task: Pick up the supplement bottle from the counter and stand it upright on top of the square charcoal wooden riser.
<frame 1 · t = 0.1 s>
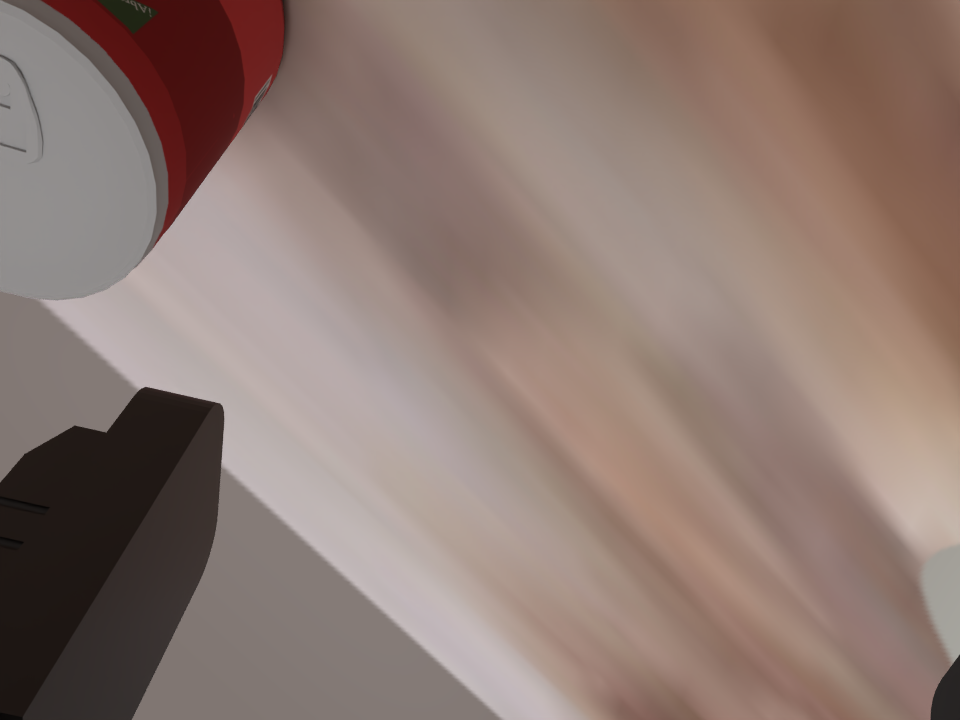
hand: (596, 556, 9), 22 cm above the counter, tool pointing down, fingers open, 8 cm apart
canned food: (178, 0, 29), on the counter
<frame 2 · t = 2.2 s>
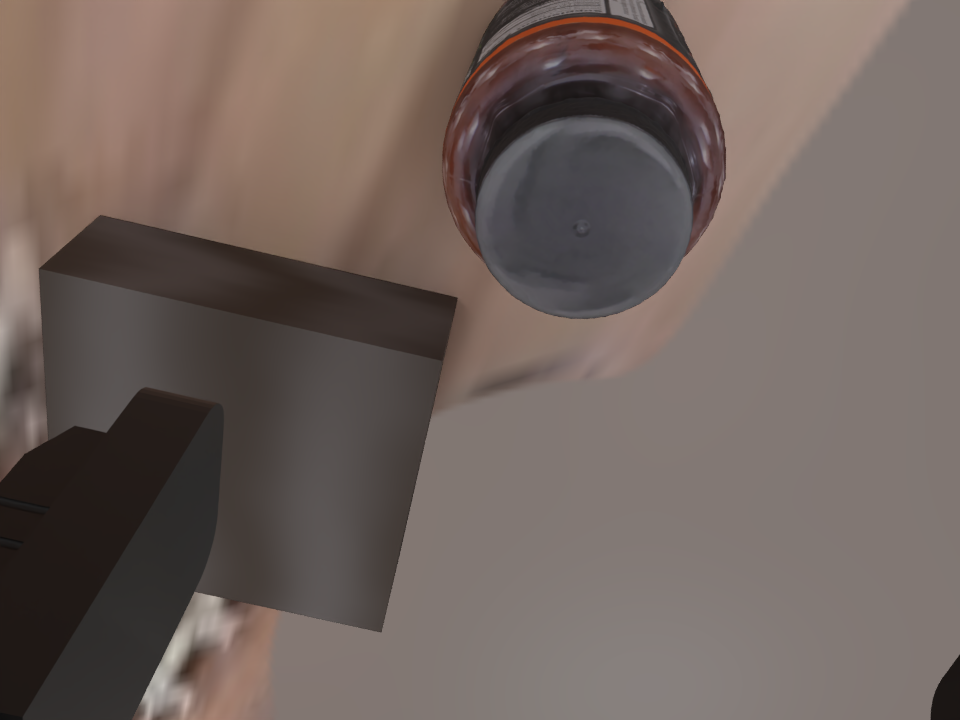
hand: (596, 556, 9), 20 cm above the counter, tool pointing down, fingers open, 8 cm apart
supplement bottle: (580, 71, 26), on the counter
riser: (264, 402, 33), on the counter
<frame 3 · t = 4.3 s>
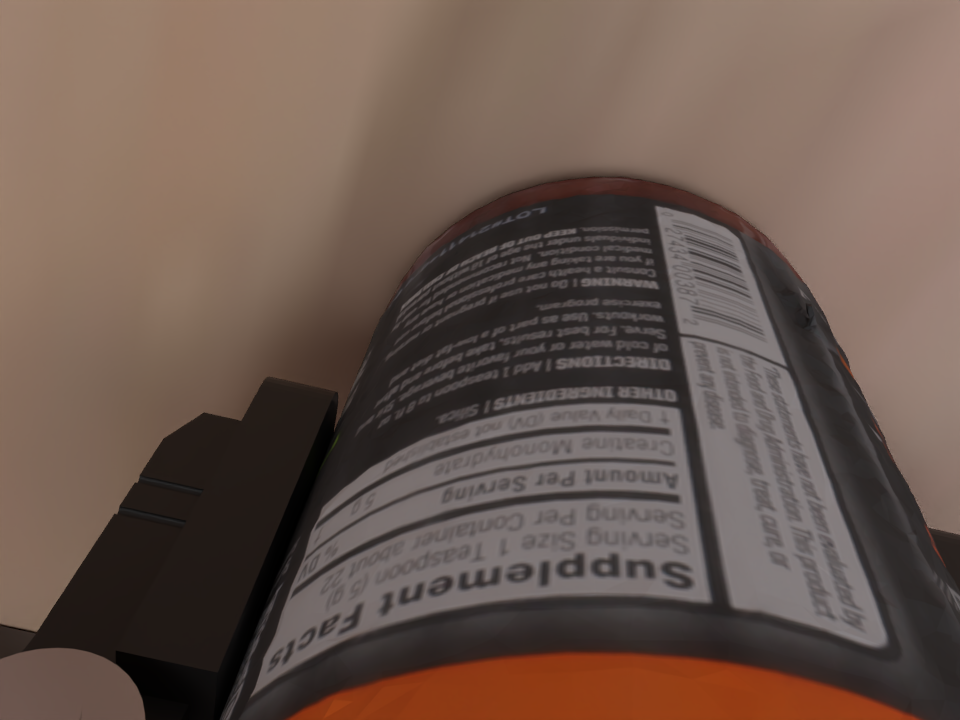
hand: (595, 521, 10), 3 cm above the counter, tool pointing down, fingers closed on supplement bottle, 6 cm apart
supplement bottle: (595, 361, 13), on the counter, touching gripper
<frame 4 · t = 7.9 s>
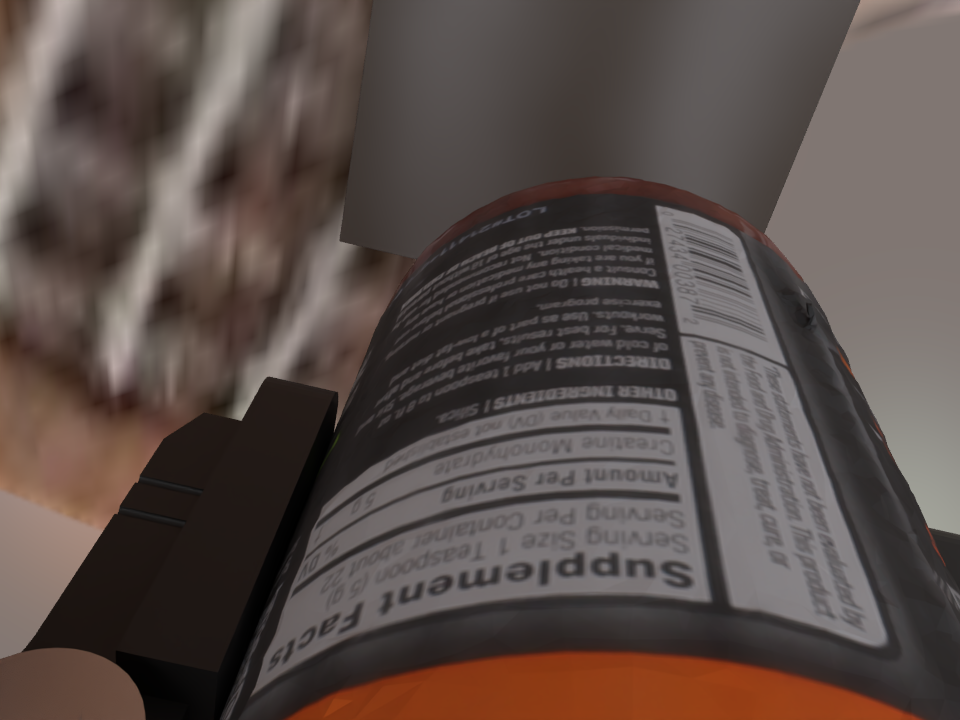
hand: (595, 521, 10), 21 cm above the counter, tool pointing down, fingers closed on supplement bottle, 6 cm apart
supplement bottle: (595, 360, 13), point 18 cm above the counter, touching gripper
riser: (585, 57, 28), on the counter
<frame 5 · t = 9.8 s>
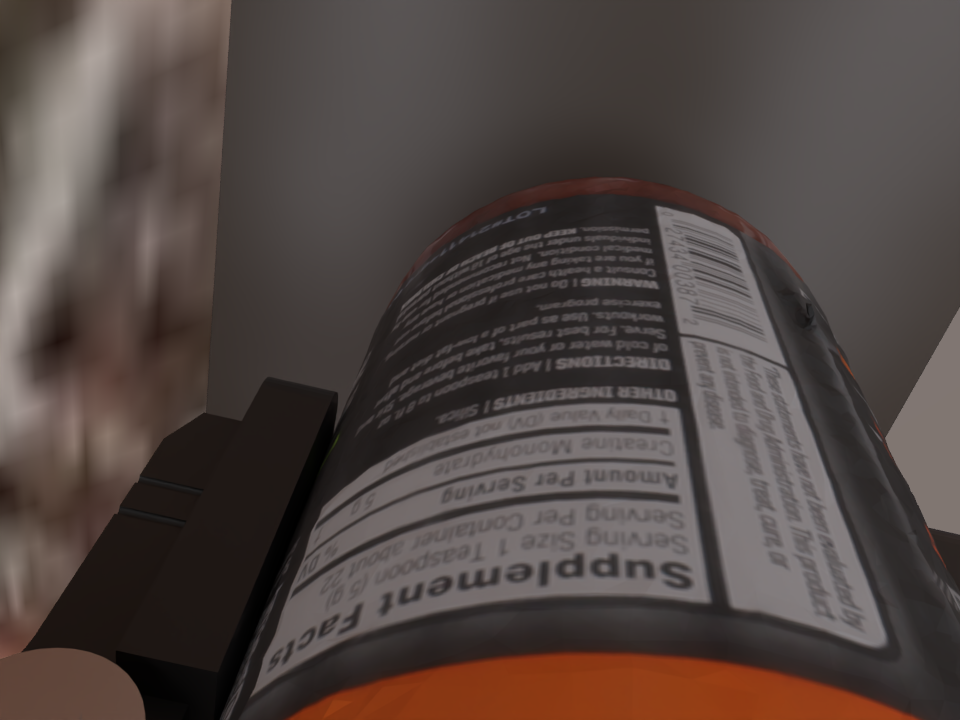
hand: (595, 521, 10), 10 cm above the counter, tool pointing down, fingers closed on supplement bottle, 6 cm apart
supplement bottle: (595, 361, 13), point 7 cm above the counter, touching gripper
riser: (579, 189, 18), on the counter
when the fingers open (8 cm above the counter, at t = 11.2 s): supplement bottle drops 1 cm, resting on riser.
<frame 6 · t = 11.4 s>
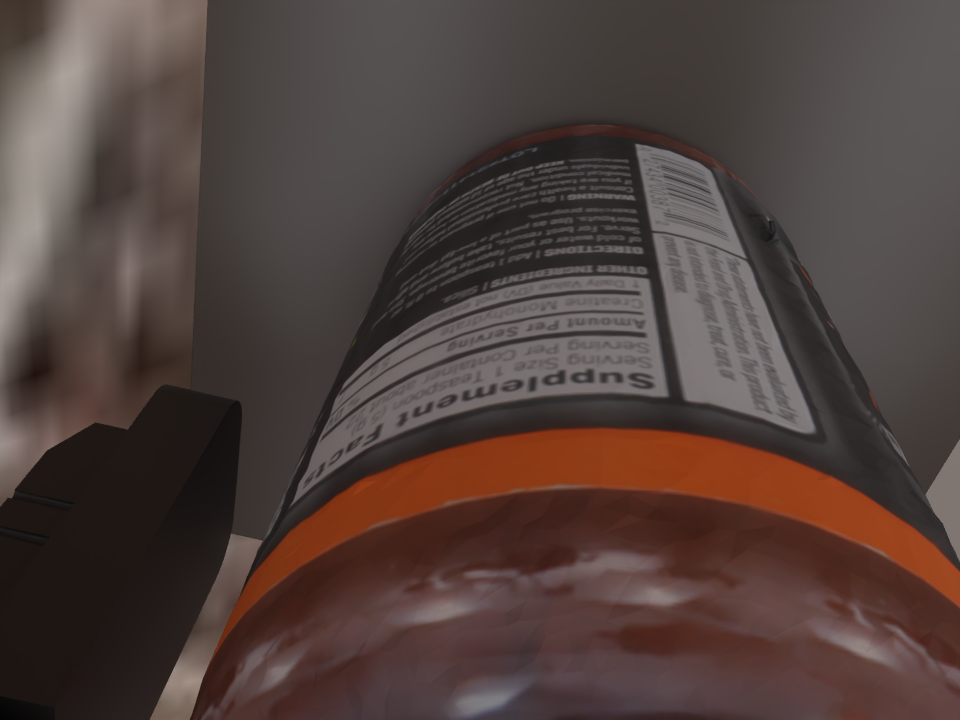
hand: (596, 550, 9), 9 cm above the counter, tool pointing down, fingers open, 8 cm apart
supplement bottle: (587, 303, 14), point 4 cm above the counter, touching riser
riser: (591, 214, 17), on the counter
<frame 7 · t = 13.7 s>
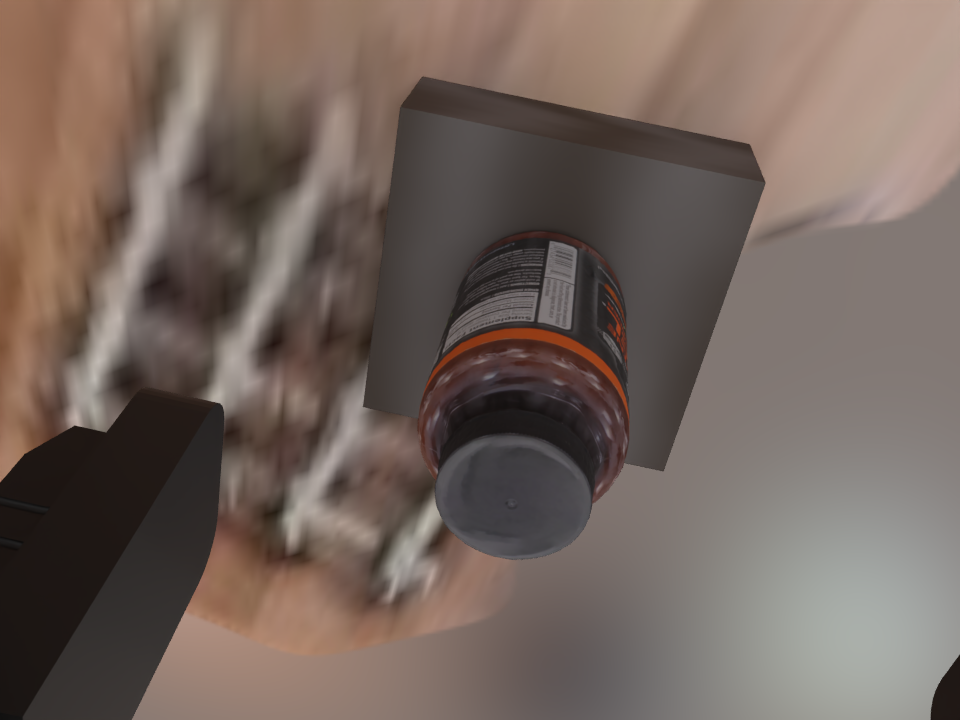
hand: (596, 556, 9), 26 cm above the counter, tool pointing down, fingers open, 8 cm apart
supplement bottle: (541, 299, 33), point 4 cm above the counter, touching riser
riser: (550, 259, 36), on the counter
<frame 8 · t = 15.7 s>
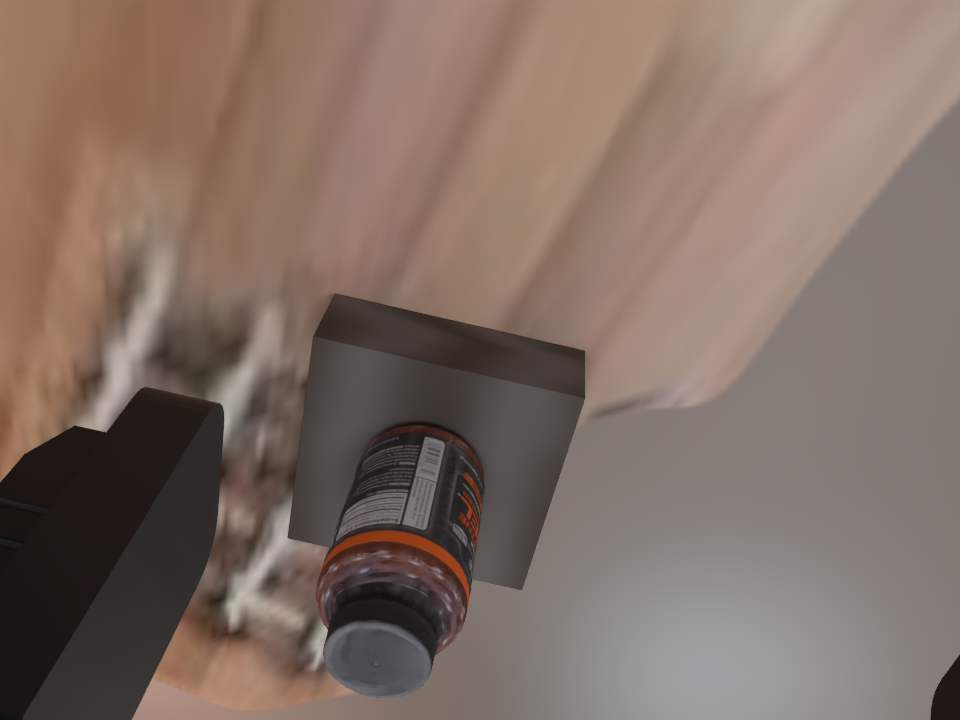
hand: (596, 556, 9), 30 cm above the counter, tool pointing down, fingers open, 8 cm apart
supplement bottle: (424, 467, 43), point 4 cm above the counter, touching riser
riser: (437, 423, 46), on the counter
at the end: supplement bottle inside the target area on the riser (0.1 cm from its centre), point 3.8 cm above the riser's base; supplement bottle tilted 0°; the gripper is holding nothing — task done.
